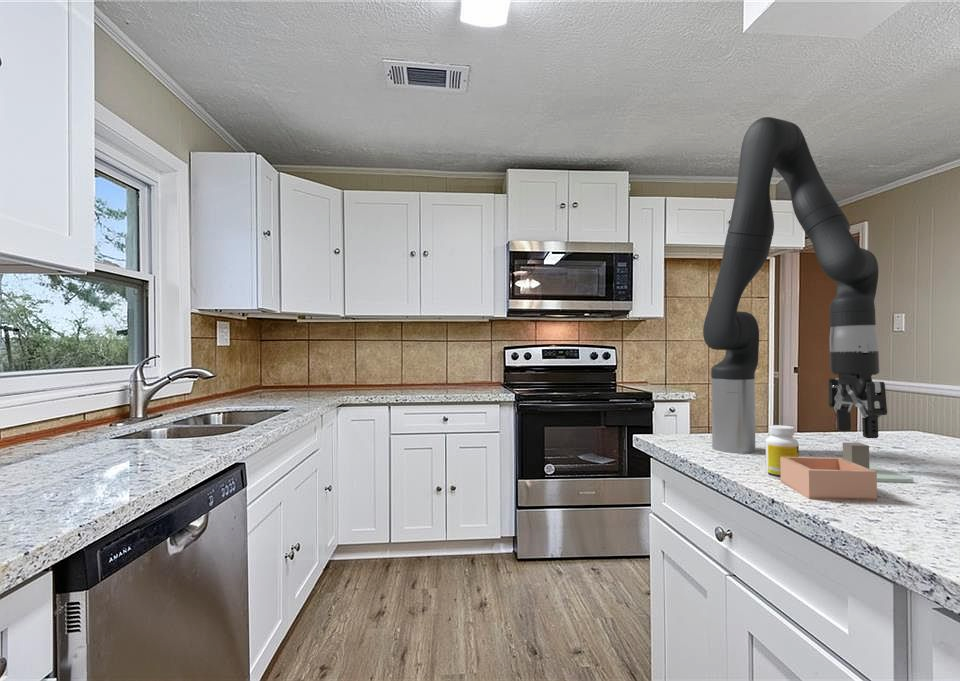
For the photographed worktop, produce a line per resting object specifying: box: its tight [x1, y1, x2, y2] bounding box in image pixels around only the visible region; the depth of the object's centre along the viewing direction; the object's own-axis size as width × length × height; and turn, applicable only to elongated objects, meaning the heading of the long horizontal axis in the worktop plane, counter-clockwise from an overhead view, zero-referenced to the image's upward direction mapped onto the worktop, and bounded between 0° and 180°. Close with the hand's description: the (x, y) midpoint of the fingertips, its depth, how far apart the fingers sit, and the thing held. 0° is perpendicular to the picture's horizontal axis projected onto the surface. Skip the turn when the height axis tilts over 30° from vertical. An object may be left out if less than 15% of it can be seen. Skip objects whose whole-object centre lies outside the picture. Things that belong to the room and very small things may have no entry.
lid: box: [842, 441, 914, 484], centre depth 96 cm, size 12×12×6 cm
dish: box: [780, 456, 878, 502], centre depth 85 cm, size 10×10×5 cm
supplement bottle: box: [765, 424, 800, 481], centre depth 95 cm, size 5×5×10 cm
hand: (856, 434), depth 96 cm, fingers open, 8 cm apart
